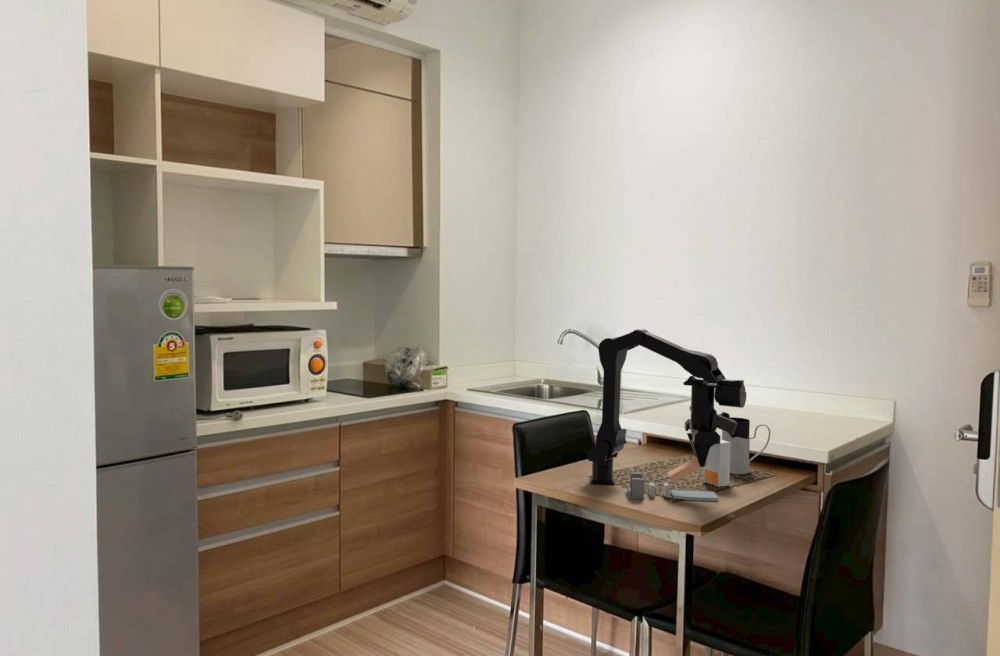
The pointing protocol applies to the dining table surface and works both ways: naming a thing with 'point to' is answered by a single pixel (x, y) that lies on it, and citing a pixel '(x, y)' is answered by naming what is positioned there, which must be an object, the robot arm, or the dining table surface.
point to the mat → (694, 495)
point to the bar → (684, 470)
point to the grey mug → (741, 446)
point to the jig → (642, 487)
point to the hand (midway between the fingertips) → (700, 464)
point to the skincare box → (718, 464)
